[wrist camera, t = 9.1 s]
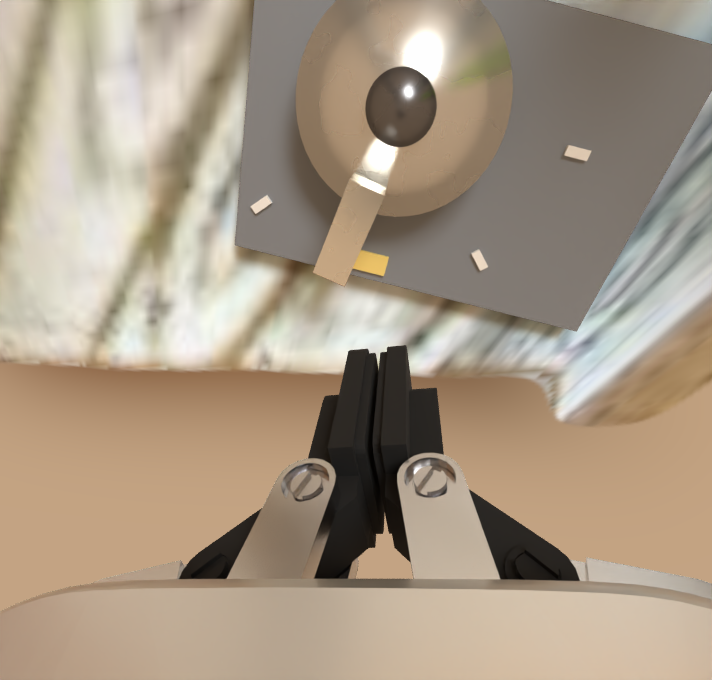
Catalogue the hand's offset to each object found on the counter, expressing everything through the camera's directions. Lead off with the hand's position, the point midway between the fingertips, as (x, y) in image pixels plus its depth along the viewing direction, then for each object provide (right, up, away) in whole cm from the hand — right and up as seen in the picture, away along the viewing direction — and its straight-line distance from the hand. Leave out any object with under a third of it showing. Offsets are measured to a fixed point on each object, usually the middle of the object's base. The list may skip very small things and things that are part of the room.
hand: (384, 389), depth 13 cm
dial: (+1, +12, +10) cm, 15 cm away
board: (+4, +12, +11) cm, 17 cm away
